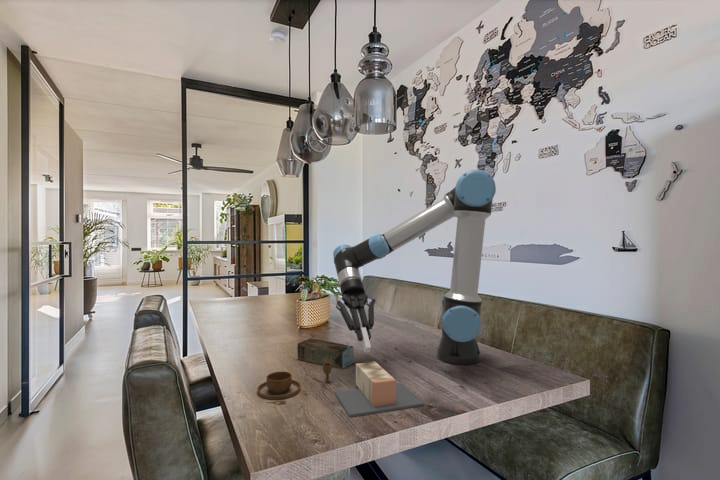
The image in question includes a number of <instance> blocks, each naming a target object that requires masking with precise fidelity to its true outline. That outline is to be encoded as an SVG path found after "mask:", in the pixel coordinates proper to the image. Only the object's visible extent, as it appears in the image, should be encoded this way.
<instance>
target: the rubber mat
mask: <svg viewBox="0 0 720 480" xmlns="http://www.w3.org/2000/svg"><path fill="white" fill-rule="evenodd" d="M334 395H335V396H336V398H337V399H338V402H340V404H341V406H342V408H343V409H344V411H345V413H346V414H347V416H348V417H349V418H354V417H355V418H356V417H359V416H367V415H372V414H379V413H385V412H391V411H398V410H399V411H400V410H404V409H411V408H412V409H413V408H418V407H424V406H425V403H424V402H423V401H422V400H421V399H420V398H419V397H418V396H416V395H415V393H413V392H412V391H411V390H410V389H409V388H407V386H405V385H404V384H403V383H402V382H396V404H390V405H383V406H377V407H373V405H372V404H371V403H370V402H369V400H368V399H367V398H366V397H365V395H364V394H363V393H362V392H361V390H360V389H359V388H353V389H344V390H335V391H334Z"/></svg>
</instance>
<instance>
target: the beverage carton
mask: <svg viewBox="0 0 720 480" xmlns="http://www.w3.org/2000/svg"><path fill="white" fill-rule="evenodd" d="M354 348H355V347H354V346H352V345H348V344H344V343H338V342H333V341H327V340H321V339H318V338H317V339H316V338H308V339H306V340H303V341H300V342H299V343H297V360H298V361H303V362H308V363H313V364H317V365H322V366H323V364H324V363H331V368H337V369H342V370H343V369H345V368H346V367H348V366H350V365H352V364H353V363H354V358H355V356H354V350H355V349H354Z"/></svg>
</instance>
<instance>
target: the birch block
mask: <svg viewBox="0 0 720 480" xmlns="http://www.w3.org/2000/svg"><path fill="white" fill-rule="evenodd" d="M396 383H397V380H396V378H394V377H393V376H392V375H391V374H390V373H389V372H388V371H386V370H385V369H384V368H383V367H382V365H379V363H378V362H376V361H367V362H359V363H355V385H356V386H357V387H358V388H359V389H360V390H361V392H362V393H363V394H364V395H365V397H366V398H367V399H368V400H369V402H370V403H371V404H372V405H373V407H377V406H383V405H390V404H396ZM358 388H357V389H358Z"/></svg>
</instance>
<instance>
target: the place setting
mask: <svg viewBox="0 0 720 480" xmlns="http://www.w3.org/2000/svg"><path fill="white" fill-rule="evenodd" d="M322 370H323V374H325V383H326V384H327V383H329V380H330V377H329V374H331V372H332V367H331V363H324V364H323V365H322ZM292 377H293V374H292V373H290V372H288V371H275V372H272V373H269V374H267V375H266V381H264V382H263V383H260V384H259V385H258V386H257V388H256V390H257V391H256V392H257V395H259V397H261V398H263V399H266V400H275V401H267V402H265V404H274V405H277V403H278V405H284V404H285V403H287V401H286V400H284V399H288V398H291V397H294V396H296V395H297V394H298V393H299V392H300V391H301V388H302V385H301V383H300V382H299V381H297V380H295V379H292ZM306 380H307V378H305V379H304V381H306ZM292 384H293V386H295V387H296V388H297V389H296V390H294V391H292V392H289V393H285V392H287V391H288V390H289V389H290V387H292ZM266 387H267V389H268V390H269V391H270V392H271V393H272V394H273V395H271V394H265V393H262V392H261V391H262V390H263V389H265V388H266ZM284 393H285V394H284ZM274 394H275V395H274Z"/></svg>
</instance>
